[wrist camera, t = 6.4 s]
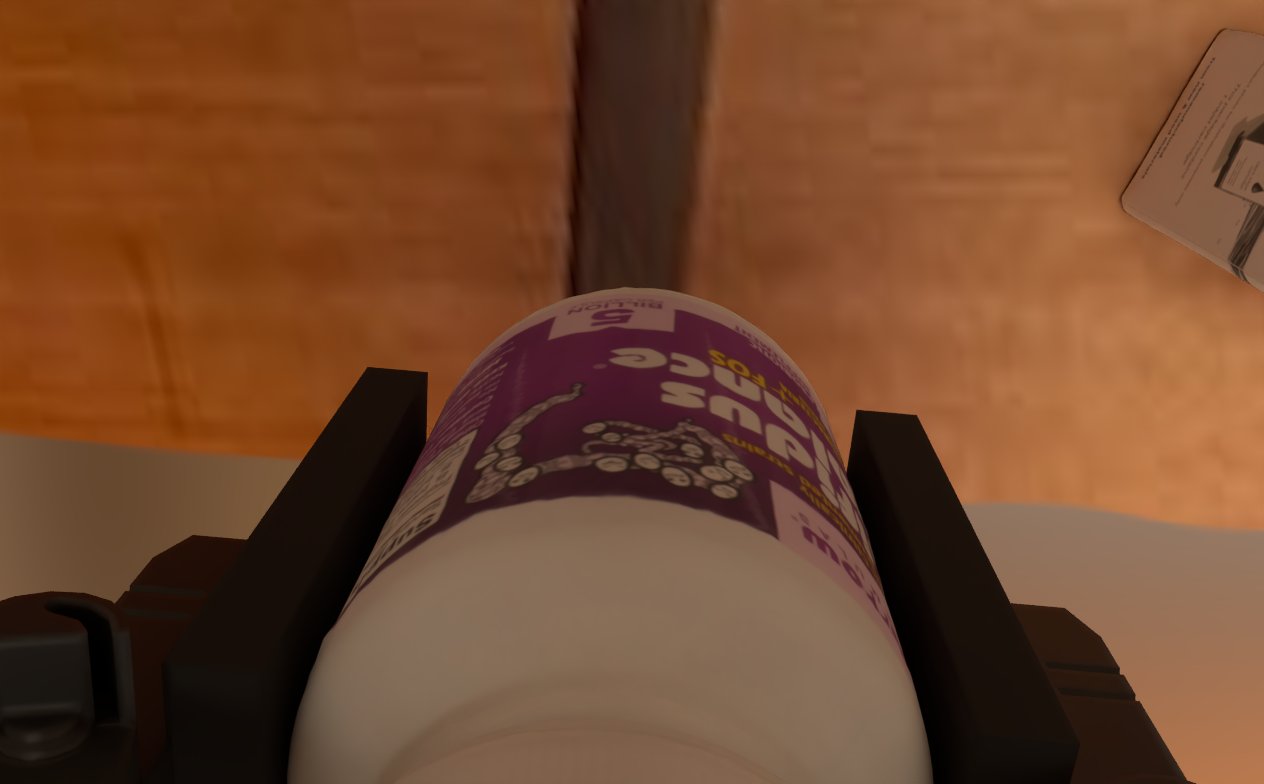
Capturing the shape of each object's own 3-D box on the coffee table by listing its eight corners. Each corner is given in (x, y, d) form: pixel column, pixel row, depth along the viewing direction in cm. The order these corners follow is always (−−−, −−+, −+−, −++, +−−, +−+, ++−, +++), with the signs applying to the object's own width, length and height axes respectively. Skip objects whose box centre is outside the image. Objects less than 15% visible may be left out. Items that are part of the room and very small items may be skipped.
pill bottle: (908, 373, 16) (1229, 971, 7) (732, 689, 17) (799, 1498, 8) (521, 205, 15) (298, 618, 6) (381, 551, 17) (45, 1267, 8)
